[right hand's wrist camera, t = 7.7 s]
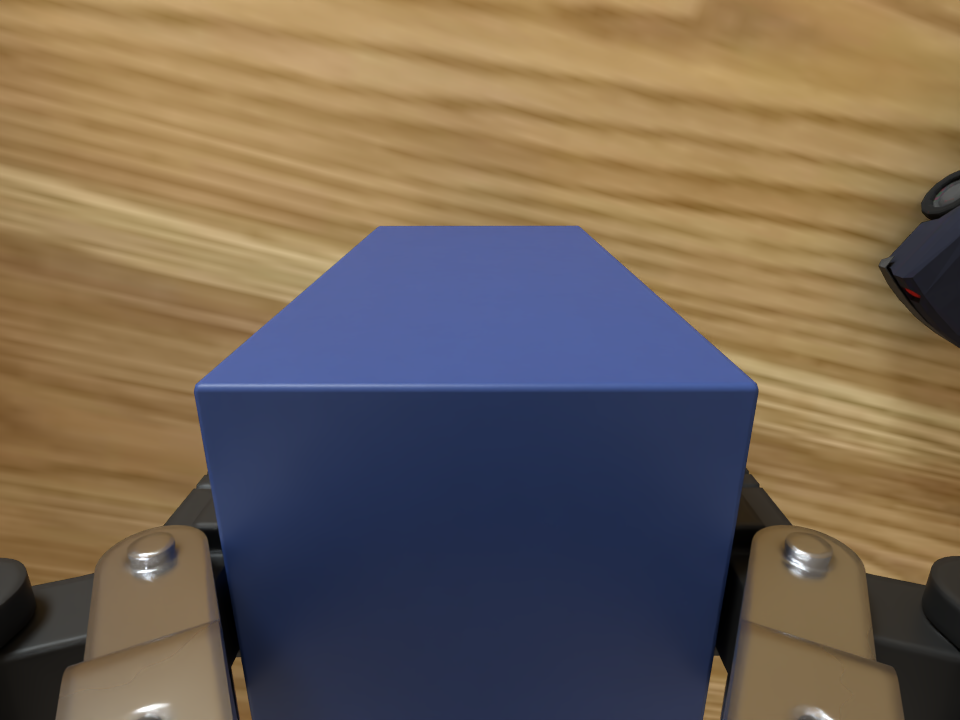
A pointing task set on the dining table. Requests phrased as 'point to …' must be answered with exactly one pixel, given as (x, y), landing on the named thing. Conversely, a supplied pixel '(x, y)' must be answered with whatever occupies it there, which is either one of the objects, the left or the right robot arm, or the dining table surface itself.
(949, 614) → the right robot arm
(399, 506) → the box
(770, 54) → the dining table surface
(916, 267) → the toy car
